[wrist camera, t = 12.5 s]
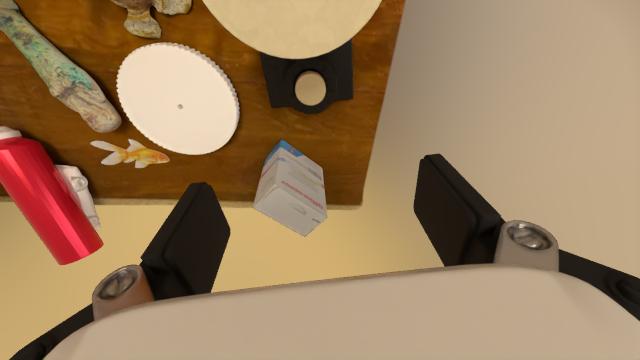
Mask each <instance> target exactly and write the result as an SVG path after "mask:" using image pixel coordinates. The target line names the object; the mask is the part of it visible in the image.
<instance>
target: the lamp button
mask: <svg viewBox="0 0 640 360" xmlns="http://www.w3.org/2000/svg"><path fill="white" fill-rule="evenodd" d="M295 92H296V96H297V98H298V99H299V100H300V101H301V102H302V103H303V104H306V105H316V104H318V103H320V102H321V101H322V100H323V98H324V96H325V93H326V86H325V82H324V80H323V78H322V76H321V75H320V74H318V73H317V72H314V71H306V72H304V73H302V74H301V75H300V76H299V77H298V78H297V81H296V86H295Z"/></svg>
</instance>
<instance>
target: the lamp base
mask: <svg viewBox="0 0 640 360" xmlns="http://www.w3.org/2000/svg"><path fill="white" fill-rule="evenodd" d="M259 52H260V51H259ZM260 57H261V62H262V66H263V71H264V76H265V80H266V85H267V89H268V94H269V99H270V103H271V108H277V107H285V106H292V107H293V108H294V109H296V110H298V111H301V112H303V113H305V114H312V113H320V112H321V111H323V110H324V109H326V108H327V107H328V106H330V105H331V104H332V102H333V101H336V100H344V99H353V67H352V38H351V39H350V40H348V41H347V42H345V43H344V44H343V45H341V46H340V47H338V48H336V49H334V50H332V51H330V52H328V53H325V54H322V55H319V56H316V57H311V58H306V59H287V58H280V57H276V56H271V55H268V54H266V53H263V52H260ZM306 71H314V72H317V73H318V74H320V75H321V76H322V78H323V80H324V82H325V86H326V93H325V96H324V98H323V100H322V101H321V102H320V103H318V104H316V105H306V104H303V103H302V102H301V101H300V100H299V99H298V98H297V96H296V92H295V86H296V81H297V78H298V77H299V76H300V75H301V74H302V73H304V72H306Z"/></svg>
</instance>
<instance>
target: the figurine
mask: <svg viewBox="0 0 640 360" xmlns="http://www.w3.org/2000/svg"><path fill="white" fill-rule="evenodd" d="M0 30H2V31H3V32H4V33H5V34H6V35H7V36H8V38H9V39H10V40H11V41H12V42H13V43H14V44H15V46H16V47H17V48H18V49H19V50H20V51H21V52H22V53H23V55H24V56H25V57H26V58H27V59H28V60H29V62H30V63H31V64H32V66H33V67H34V68H35V70H36V71H37V72H38V74H39V75H40V77H41V78H42V79H43V80H44V82H45V83H46V84H47V86H48V87H49V91H50V93H51V94H52V95H53V96H54V97H57V98H58V99H59V100H60V101H62V102H63V103H64V104H65V105H67V106H68V107H69V108H71V109H73V110H75V111H76V112H79V113H80V115H81V116H82V118H83V119H84V120H85V121H87V122H88V125H90V127H91V128H92V129H93V130H95V131H96V132H100V133H107V132H110V131H113V130H115V129H116V128H118V127H119V126H120V124H121V117H120V115H119V114H118V112H117V111H116V109H115V108H114V107H113V105H112V104H111V103H110V102H109V101H108V100H107V99H106V98H105V95H104V94H103V92H102V90H101V89H100V88H99V86H98V85H97V83H96V82H95V81H94V80H93V79H92V77H91V76H90V75H89V74H88V73H86V72H85V71H84V70H83V69H81V68H80V67H78V66H77V65H76V64H74V63H73V62H72V61H71V60H69V59H68V58H67V57H66V56H65V55H64V54H62V53H61V52H60V51H59V50H58V49H57V48H56V47H55V46H54V45H53V44H52V43H50V42H49V41H48V40H47V39H46V38H44V36H42V35H41V34H40V33H39V32H38V31H37V30H36V29H35V28H34V27H33V26H32V25H31V24H30V23H29V22H28V21H27V20H26V19H25V18H24V17H23V16H22V15H21V14H20V13H19V8H18V6H17V5H16V4H15V3H14V2H13V1H12V0H0Z"/></svg>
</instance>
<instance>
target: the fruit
mask: <svg viewBox="0 0 640 360" xmlns="http://www.w3.org/2000/svg"><path fill="white" fill-rule="evenodd" d="M111 1H112V2H114V3H115V4H117V5H119V6H121V7H125V8H127V11H128V16H127V20H126V21H125V22H124V23H123V25H124V27H125V28H126V29H127V31H128V32H130V33H131V34H133V35H138V36H141V37H145V38H156V39H157V38H158V39H159V38H160V37H161V31H162V30H161V29H160V27H159V24H158V23H157V22H156V21H155V20H154V19H152V17H151V16H150V6H151V5H154V6H155V7H156V8H157V11H159V12H162V13H165V14H171V15H173V14H176V13H188V11H189V9H190V8H191V1H192V0H111Z"/></svg>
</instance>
